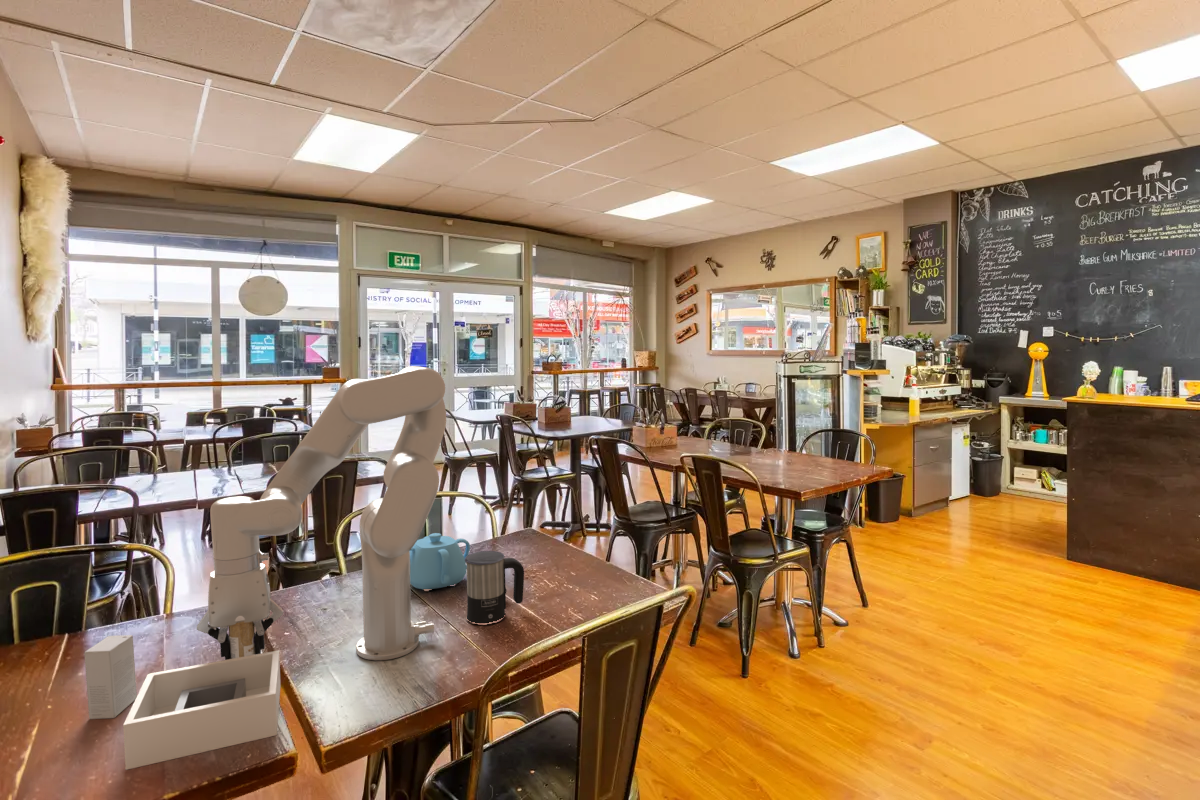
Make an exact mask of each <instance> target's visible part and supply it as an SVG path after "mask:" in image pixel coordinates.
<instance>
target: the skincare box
mask: <svg viewBox="0 0 1200 800" xmlns="http://www.w3.org/2000/svg"><path fill="white" fill-rule="evenodd" d="M134 648H135V647H134V637H133V635H131V634H130V635H129V634H128V635H124V634H123V635H108V636H106V637H105V638H103V639H102V640H100V641H99V642H98V643H96V644H94V645H93V646H92V647H90V648H88V649H87V650H85V651H84V653H83V654H84V665H85V666H84V667H85V678H86V679H85V680H86V692H87V693H86V694H87V707H88V708H87V709H88V718H89V720H96V719H97V720H98V719H99V720H101V719H115V718H116V717H117V716H118V715H119V714H120V713H121V712H123V711H124V710H125V709H126V708H127V707H128V706H130V705H131V704H132V703H134V702H135V699H136V697H137V695H138V693H137V679H136V666H135V665H136V664H135V651H134V650H135V649H134Z"/></svg>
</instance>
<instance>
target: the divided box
mask: <svg viewBox="0 0 1200 800" xmlns="http://www.w3.org/2000/svg"><path fill="white" fill-rule="evenodd" d="M280 657H281V656H280V650H274V651H268V652H263V653H262V652H261V654H256V655H251V656H245V657H239V658H234V659H228V660H225V659H222V660H219V661H213V662H206V663H202V664H195V665H190V666H185V667H180V668H174V669H168V670H162V671H156V672H151V673H147V675H146V677H145V678H144V679H145V680H144V681H143V683H142V685H141V687H140V689H139V691H138V693H137V697H136V699H135V700H134V701H133V704H132V706H131V707H130V709H129V712H128V714H127V716H126V718H125V720H124V722H123V725H122V727H123V730H122V731H123V746H124V747H123V748H124V763H125V770H126V771H127V770H132V769H136V768H139V767H145V766H148V765H152V764H156V763H161V762H166V761H170V760H174V759H175V760H176V759H178V758H184V757H187V756H188V757H189V756H193V755H197V754H200V753H206V752H210V751H214V750H218V749H222V748H227V747H230V746H235V745H240V744H243V743H248V742H252V741H257V740H258V741H259V740H261V739H265V738H269V737H274V736H278V729H279V728H278V726H279V711H280V700H281V699H280V698H281V663H280Z"/></svg>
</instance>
